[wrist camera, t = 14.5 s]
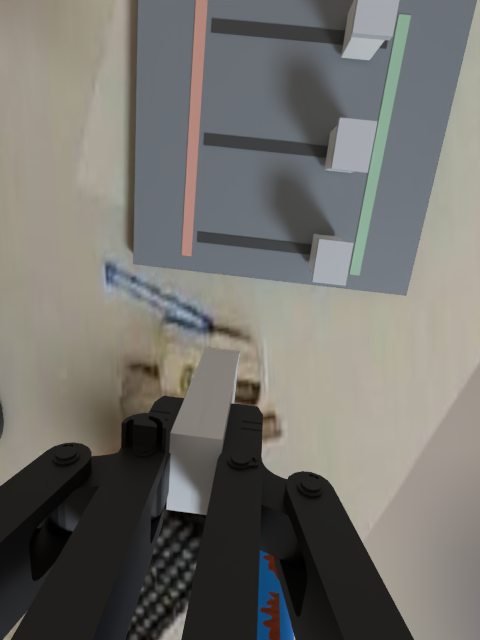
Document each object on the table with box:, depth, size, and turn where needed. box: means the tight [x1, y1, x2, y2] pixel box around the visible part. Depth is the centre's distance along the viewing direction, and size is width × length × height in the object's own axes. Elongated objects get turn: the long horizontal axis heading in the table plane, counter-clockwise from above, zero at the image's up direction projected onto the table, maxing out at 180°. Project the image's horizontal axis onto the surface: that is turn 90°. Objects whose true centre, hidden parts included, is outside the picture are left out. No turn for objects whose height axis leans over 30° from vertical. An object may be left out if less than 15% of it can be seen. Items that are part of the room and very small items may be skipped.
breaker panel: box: [133, 0, 477, 296], centre depth 38 cm, size 28×25×2 cm
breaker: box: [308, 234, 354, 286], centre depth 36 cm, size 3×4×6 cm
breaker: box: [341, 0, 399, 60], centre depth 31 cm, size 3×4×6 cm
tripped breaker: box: [324, 118, 378, 173], centre depth 34 cm, size 3×4×6 cm
